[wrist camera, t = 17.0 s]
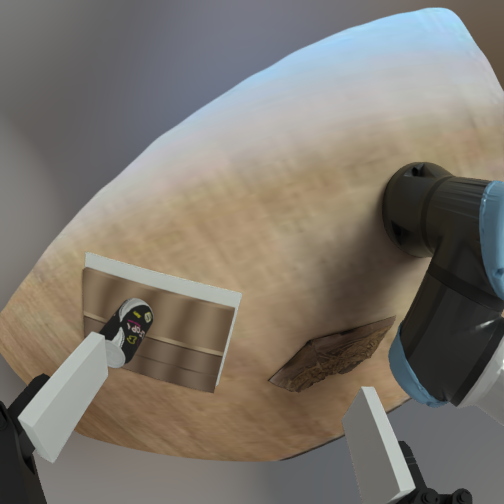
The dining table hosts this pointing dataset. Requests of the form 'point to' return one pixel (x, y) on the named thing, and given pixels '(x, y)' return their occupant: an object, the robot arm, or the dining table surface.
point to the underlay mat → (168, 285)
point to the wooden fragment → (331, 356)
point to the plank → (161, 311)
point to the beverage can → (126, 331)
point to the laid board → (169, 361)
